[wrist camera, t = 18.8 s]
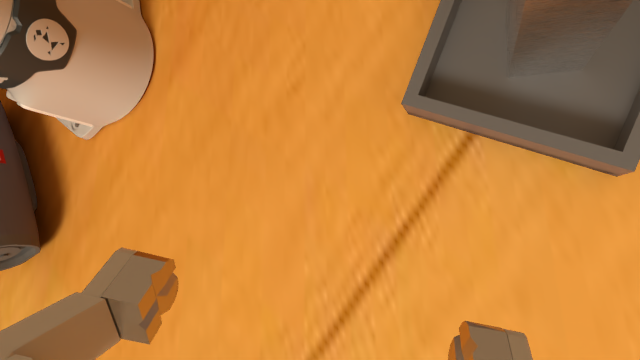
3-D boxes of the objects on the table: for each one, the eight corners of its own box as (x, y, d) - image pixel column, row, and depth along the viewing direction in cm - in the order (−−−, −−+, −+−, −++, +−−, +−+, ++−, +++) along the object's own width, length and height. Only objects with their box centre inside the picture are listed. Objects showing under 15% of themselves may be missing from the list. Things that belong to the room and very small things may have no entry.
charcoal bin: (408, 113, 35) (401, 103, 31) (476, -63, 34) (476, -93, 30) (616, 176, 29) (634, 171, 25) (706, -37, 28) (736, -70, 24)
